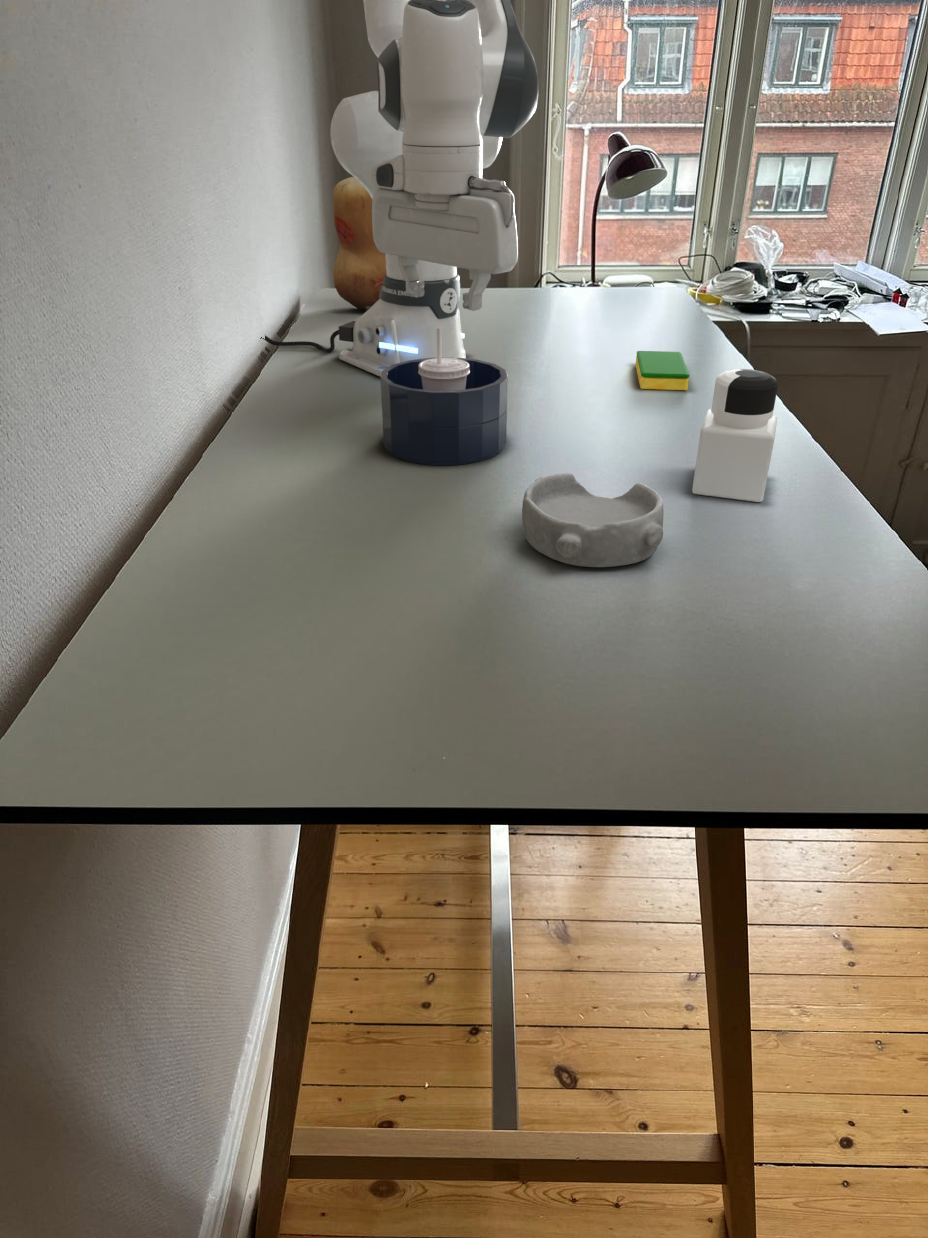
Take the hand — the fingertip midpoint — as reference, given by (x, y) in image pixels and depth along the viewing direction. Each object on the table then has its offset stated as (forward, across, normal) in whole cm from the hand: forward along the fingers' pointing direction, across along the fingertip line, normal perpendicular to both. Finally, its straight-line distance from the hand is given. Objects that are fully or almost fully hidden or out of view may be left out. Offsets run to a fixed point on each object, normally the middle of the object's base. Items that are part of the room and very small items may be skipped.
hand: (443, 302), depth 106 cm
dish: (+17, -32, +12) cm, 38 cm away
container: (+17, -35, -12) cm, 40 cm away
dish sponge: (+18, -5, -45) cm, 48 cm away
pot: (+17, -1, 0) cm, 17 cm away
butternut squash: (+20, +66, -47) cm, 83 cm away
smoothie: (+17, -1, 0) cm, 17 cm away
